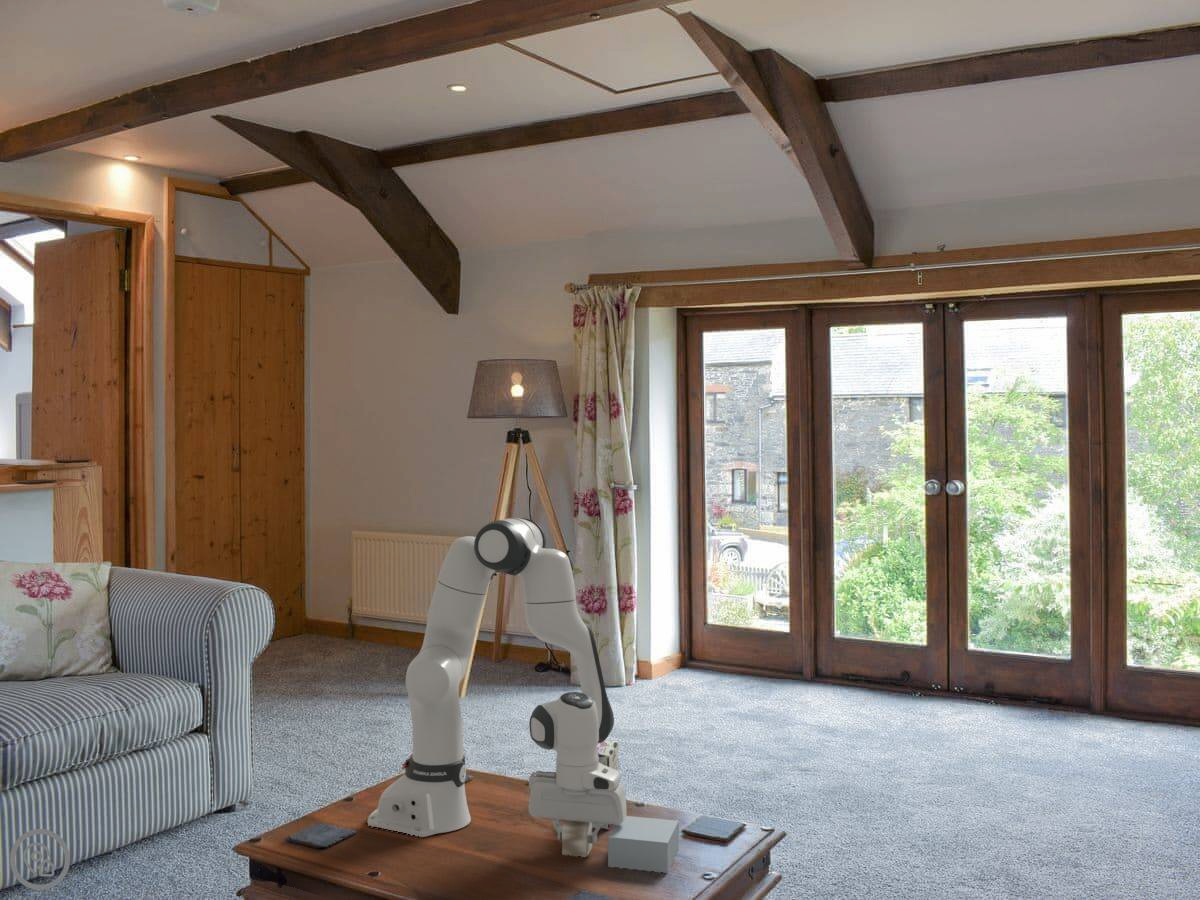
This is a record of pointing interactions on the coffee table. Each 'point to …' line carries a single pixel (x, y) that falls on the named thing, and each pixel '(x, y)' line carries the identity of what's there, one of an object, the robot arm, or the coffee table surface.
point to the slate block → (644, 844)
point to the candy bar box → (608, 761)
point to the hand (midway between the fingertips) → (577, 841)
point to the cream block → (576, 838)
